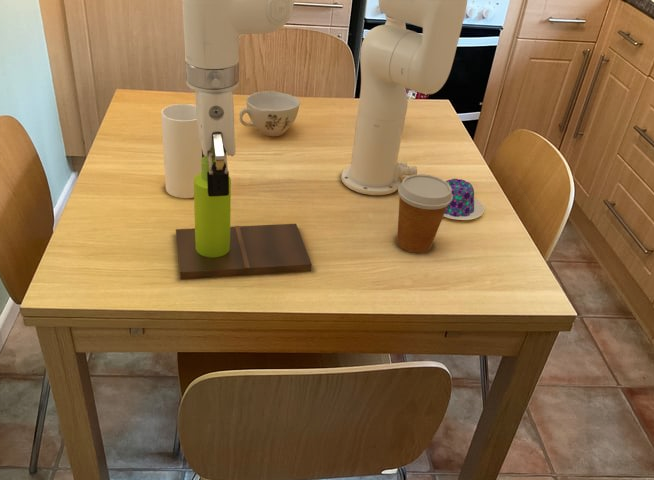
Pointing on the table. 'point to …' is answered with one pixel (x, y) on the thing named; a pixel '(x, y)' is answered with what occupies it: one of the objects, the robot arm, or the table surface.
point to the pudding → (463, 201)
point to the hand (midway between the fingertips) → (215, 179)
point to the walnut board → (246, 252)
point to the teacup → (271, 112)
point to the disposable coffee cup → (421, 211)
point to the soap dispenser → (211, 216)
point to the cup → (181, 149)
